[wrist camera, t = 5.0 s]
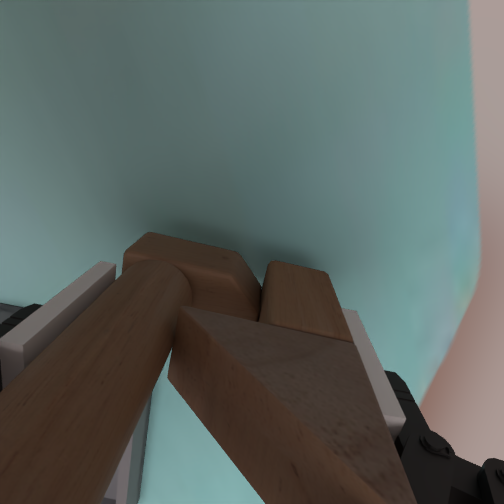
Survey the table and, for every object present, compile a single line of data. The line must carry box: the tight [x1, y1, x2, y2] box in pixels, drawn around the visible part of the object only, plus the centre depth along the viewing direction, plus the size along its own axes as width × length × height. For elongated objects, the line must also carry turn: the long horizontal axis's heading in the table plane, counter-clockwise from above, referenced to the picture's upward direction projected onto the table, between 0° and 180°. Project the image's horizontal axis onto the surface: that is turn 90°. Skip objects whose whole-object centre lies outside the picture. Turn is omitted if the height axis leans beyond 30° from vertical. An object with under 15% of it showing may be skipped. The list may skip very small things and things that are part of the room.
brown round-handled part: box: [0, 232, 417, 504], centre depth 12 cm, size 4×11×18 cm, turn 77°
